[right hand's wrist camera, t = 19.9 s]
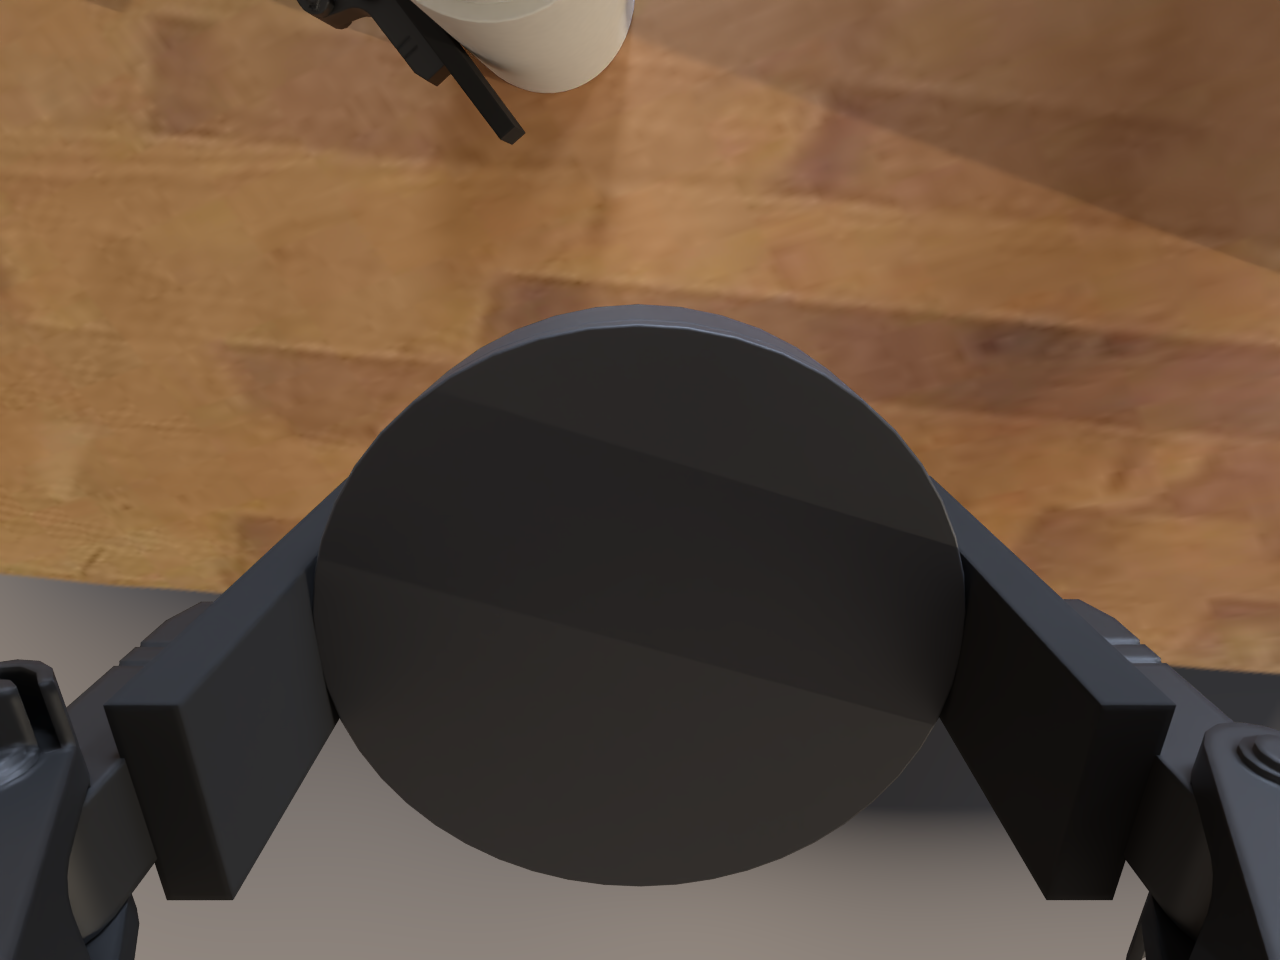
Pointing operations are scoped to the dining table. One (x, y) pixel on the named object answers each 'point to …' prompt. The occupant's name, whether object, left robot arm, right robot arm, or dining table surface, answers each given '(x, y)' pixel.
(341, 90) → the dining table surface
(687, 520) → the lid
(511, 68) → the jar
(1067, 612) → the right robot arm
